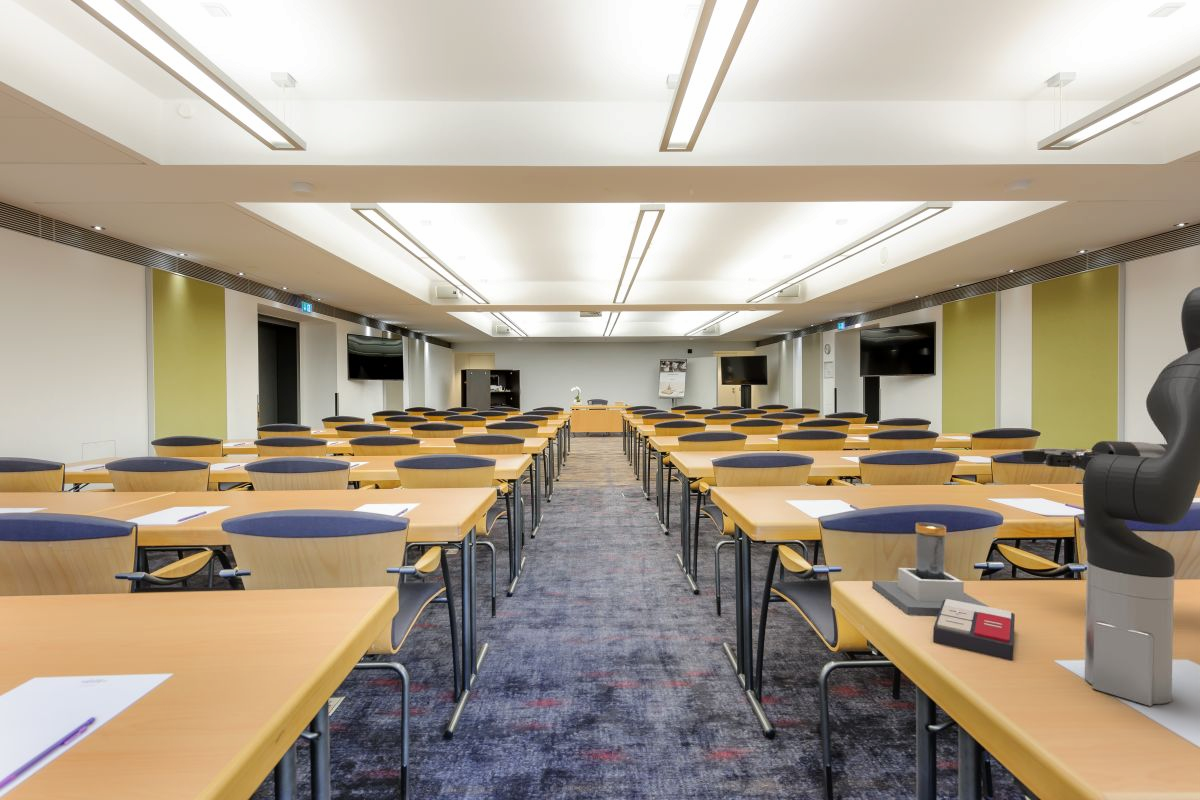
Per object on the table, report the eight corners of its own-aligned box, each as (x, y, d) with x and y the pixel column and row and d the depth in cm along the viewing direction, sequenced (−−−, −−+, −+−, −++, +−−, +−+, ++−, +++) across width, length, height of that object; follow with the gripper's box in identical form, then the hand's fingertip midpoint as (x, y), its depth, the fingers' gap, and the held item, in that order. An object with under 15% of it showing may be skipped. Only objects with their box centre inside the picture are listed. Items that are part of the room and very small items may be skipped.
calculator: (933, 623, 97) (943, 595, 109) (932, 648, 97) (942, 617, 110) (1013, 640, 91) (1014, 608, 103) (1012, 667, 91) (1014, 632, 103)
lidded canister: (938, 600, 114) (940, 529, 114) (910, 593, 118) (911, 524, 118) (949, 595, 117) (950, 525, 117) (921, 588, 121) (922, 521, 121)
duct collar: (994, 618, 109) (995, 589, 109) (907, 614, 110) (908, 585, 110) (947, 590, 125) (948, 564, 125) (872, 587, 126) (872, 562, 126)
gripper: (1103, 439, 118) (1015, 436, 120) (1158, 444, 103) (1056, 441, 106) (1102, 476, 118) (1014, 472, 120) (1157, 486, 103) (1055, 482, 106)
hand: (1034, 458), depth 113 cm, fingers open, 8 cm apart
